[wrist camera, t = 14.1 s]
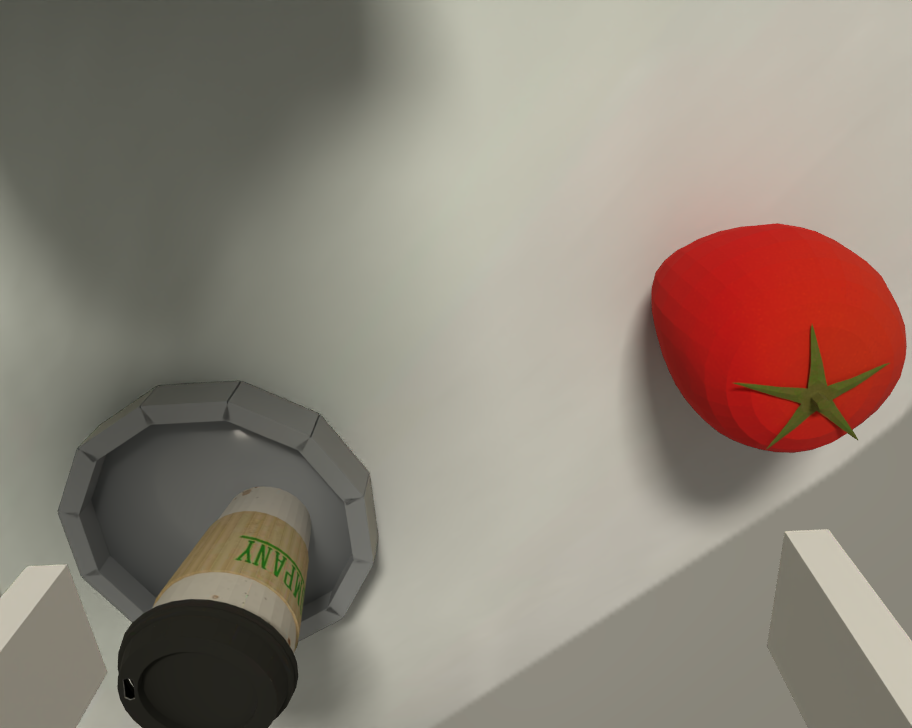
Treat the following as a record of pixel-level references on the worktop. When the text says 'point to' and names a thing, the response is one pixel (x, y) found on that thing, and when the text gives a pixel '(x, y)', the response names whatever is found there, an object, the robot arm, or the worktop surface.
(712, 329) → the tomato
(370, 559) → the tray
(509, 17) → the worktop surface
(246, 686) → the coffee cup
